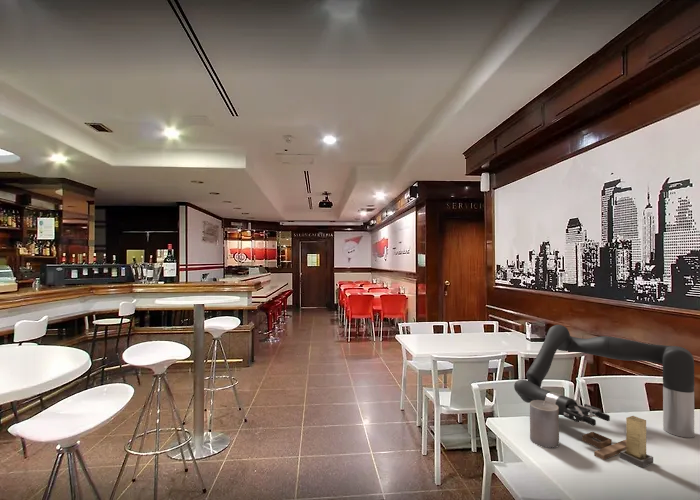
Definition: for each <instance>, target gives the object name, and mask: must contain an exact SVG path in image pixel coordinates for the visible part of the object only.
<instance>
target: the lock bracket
mask: <svg viewBox="0 0 700 500" xmlns="http://www.w3.org/2000/svg"><path fill="white" fill-rule="evenodd" d="M581 441H582V442H584V443H586V444H589V445H591V446H593V447H596V448H597V450H594V451H593V453H594V454H593V455H594V457H596V458H599V459H600V460H602V461H604V460H607V459H609V458H612V457H614V456H617V455H619V458H620V459H622V460H624V461H626V462H629V463H631V464H633V465H635V466H637V467H639V468H641V469H643V468H646V467H647V466H650V465H652V464H654V456H652V455H649V454H647V453H646V459H643V460H639V459H637V458H634V457H632V456H630V455H628V454H626V439H623V440H621V441H618V442H615V443H613V444H612V439H611V438H609V437H607V436H604V435H602V434H599V433H597V432H595V431H590V432H587V433H585V434H582V435H581ZM619 453H620V454H619Z"/></svg>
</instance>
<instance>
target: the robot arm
mask: <svg viewBox="0 0 700 500" xmlns="http://www.w3.org/2000/svg"><path fill="white" fill-rule="evenodd" d="M557 351H561V352H572V353H580V354H581V353H582V354H586V355H594V356H598V357H603V358H608V359H613V360H620V361H629V362H630V361H631V362H650V363H655V364H660V365H662V400H663V401H662V413H663V414H662V422H663V423H662V425H663V427H662V429H663V430H664V431H665V432H667V433H669V434H671V435H674V436H678V437H682V438H687V439H690V438H694V437H695V361H694V355H693V354H692V353H691V351H689V350H688V349H686V348H685V347H682V346H678V345H663V344H653V343H646V342H641V341H637V340H631V339H626V338H621V337H615V336H607V335H602V336H601V335H600V336H596V337H589V338H582V337H576V336H572V335H571V333H570V331H569V329H568V328H567V327H566V326H564V325H561V324H555V325H552V326H551V327H549V329H548V330H547V333H546V335H545V339H544V341H543V344H542V345H541V348H540V350H539V352H538V353H537V355H536V357H535V359H534V360H533V362H532V363H531V365H530V366H529V368H528V370H527V371H526V374H525V376H526V378H527V379H518V380H516V381H515V382H514V385H513V387H514V390H515V392H516V394H517V395H518V396H519V397H520V398H521V400H523V401H522V402H524V403H527V404H528V403H529V404H530V402H531V401H533V400H543V401H548V402H552V403H554V404H556V405H557V406H558V407H559V416H560V415H561V416H562V417H564V418H567V419H568V420H571V421H573V422H575V423H580V422H581V423H585V424H588V425H591V426H593V427H594V426H596V425H597V423H596V422H597V421H596V419H595V418H598V419H600V420H604V421H606V422H610V420H611V416H610V415H609V414H607V413H604V412H602V409H600V408H599V407H595V406H593V405H590V404H587V403H583V405H580V404H578V403H577V402H576V400H575V399H574V398H572V397H568V396H565V395H563V394H560V393H558V392H557V393H556V392H553V391H550V390H547V389H545V388H542V383H543V381H544V379H545V378H546V376H547V375H548V373H549V371H550V369H551V366H552V363H553V359H554V357H555V355H556V352H557Z"/></svg>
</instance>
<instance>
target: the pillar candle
mask: <svg viewBox="0 0 700 500" xmlns="http://www.w3.org/2000/svg"><path fill="white" fill-rule="evenodd" d="M559 416H560V414H559V407H558V406H557V405H556V404H554V403H552V402H548V401H543V400H533V401H531V402H530V403H529V439H530V442H531V443H533V444H534V443H535V445H536V444H537V445H536V446H538V445H540V446H539V447H541V446H542V448H550V449H553V447H555V448H558V447H559V446H560V423H559V422H560V418H559ZM557 446H558V447H557ZM551 447H552V448H551Z"/></svg>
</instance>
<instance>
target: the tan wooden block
mask: <svg viewBox="0 0 700 500" xmlns="http://www.w3.org/2000/svg"><path fill="white" fill-rule="evenodd" d="M625 420H626V421H625V422H626V424H625V425H626V426H625V427H626V428H625V430H626V433H625V434H626V435H625V436H626V437H625V438H626V439H625V440H626V454H628V455H630V456H632V457H634V458H637V459H639V460H643V459H646V454H647V420H646V419H643V418H641V417H637V416H635V415H631V416H628V417H626V419H625Z"/></svg>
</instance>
